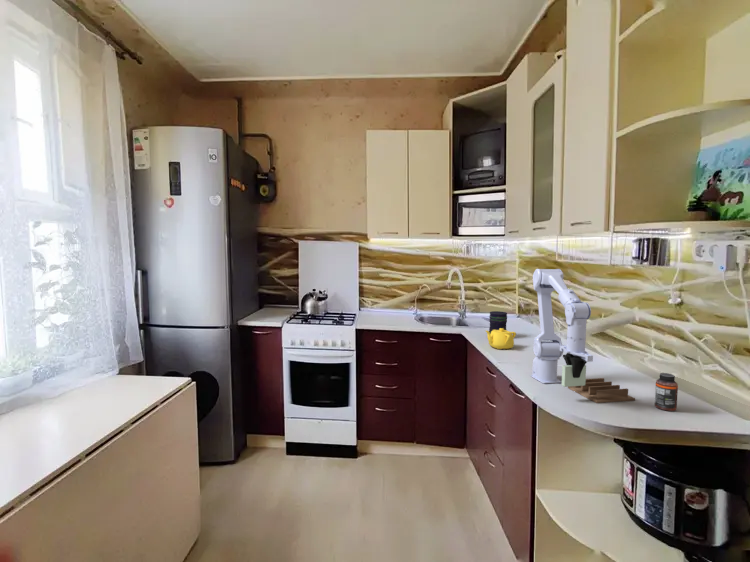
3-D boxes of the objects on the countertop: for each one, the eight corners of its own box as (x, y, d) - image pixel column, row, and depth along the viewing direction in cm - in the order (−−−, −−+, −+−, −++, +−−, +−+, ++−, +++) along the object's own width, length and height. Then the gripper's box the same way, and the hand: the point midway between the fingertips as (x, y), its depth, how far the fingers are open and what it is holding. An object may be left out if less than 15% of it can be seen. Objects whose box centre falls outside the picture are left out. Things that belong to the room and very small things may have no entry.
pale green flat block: (561, 385, 141) (562, 365, 140) (582, 383, 142) (583, 364, 141) (564, 386, 139) (565, 366, 138) (585, 385, 141) (586, 365, 140)
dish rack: (567, 388, 152) (568, 378, 152) (603, 385, 155) (603, 376, 155) (596, 403, 138) (597, 392, 137) (634, 400, 140) (635, 390, 140)
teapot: (508, 352, 204) (509, 332, 203) (483, 348, 211) (484, 329, 210) (516, 347, 215) (517, 328, 214) (492, 343, 222) (493, 325, 222)
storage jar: (507, 340, 231) (508, 314, 230) (490, 339, 232) (491, 313, 231) (504, 336, 241) (505, 311, 240) (487, 335, 242) (488, 311, 241)
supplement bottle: (667, 404, 137) (669, 371, 136) (681, 411, 131) (683, 377, 130) (649, 404, 137) (652, 371, 136) (663, 411, 131) (665, 377, 130)
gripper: (552, 333, 146) (551, 370, 147) (580, 343, 131) (577, 384, 133) (570, 332, 147) (568, 369, 148) (599, 342, 133) (597, 382, 134)
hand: (574, 376), depth 140 cm, fingers closed on pale green flat block, 2 cm apart
